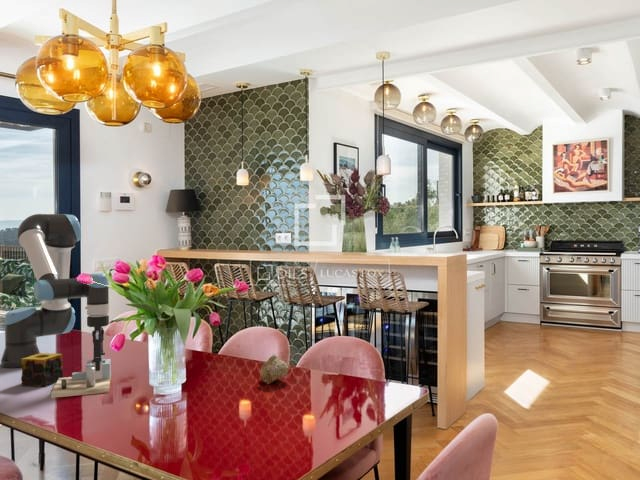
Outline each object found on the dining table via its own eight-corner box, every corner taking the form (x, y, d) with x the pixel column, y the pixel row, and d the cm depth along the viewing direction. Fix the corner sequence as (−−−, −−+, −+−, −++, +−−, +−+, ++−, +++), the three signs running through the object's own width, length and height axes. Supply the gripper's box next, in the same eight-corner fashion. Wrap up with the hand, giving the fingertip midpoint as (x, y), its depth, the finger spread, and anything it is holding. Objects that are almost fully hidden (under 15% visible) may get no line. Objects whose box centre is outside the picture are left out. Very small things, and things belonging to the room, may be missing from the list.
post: (86, 385, 189) (86, 367, 189) (95, 384, 190) (95, 366, 190) (85, 387, 186) (85, 369, 186) (95, 387, 187) (94, 368, 187)
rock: (293, 382, 197) (292, 355, 196) (272, 388, 189) (271, 360, 189) (271, 376, 205) (270, 350, 205) (250, 382, 197) (249, 354, 197)
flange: (110, 373, 205) (110, 358, 205) (109, 378, 198) (109, 363, 197) (73, 376, 201) (73, 361, 201) (71, 381, 193) (70, 366, 193)
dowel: (61, 388, 186) (61, 379, 186) (66, 387, 186) (66, 379, 186) (61, 389, 184) (61, 380, 184) (66, 388, 185) (66, 380, 185)
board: (58, 382, 199) (58, 378, 199) (110, 377, 205) (110, 373, 205) (51, 397, 180) (51, 393, 180) (108, 392, 186) (108, 387, 186)
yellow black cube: (44, 387, 193) (44, 359, 193) (20, 386, 195) (19, 358, 195) (63, 379, 203) (63, 353, 203) (40, 378, 205) (39, 352, 205)
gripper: (89, 311, 208) (90, 370, 209) (84, 320, 188) (85, 384, 189) (109, 310, 211) (110, 368, 211) (107, 318, 191) (108, 382, 191)
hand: (98, 376), depth 200 cm, fingers closed on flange, 8 cm apart
